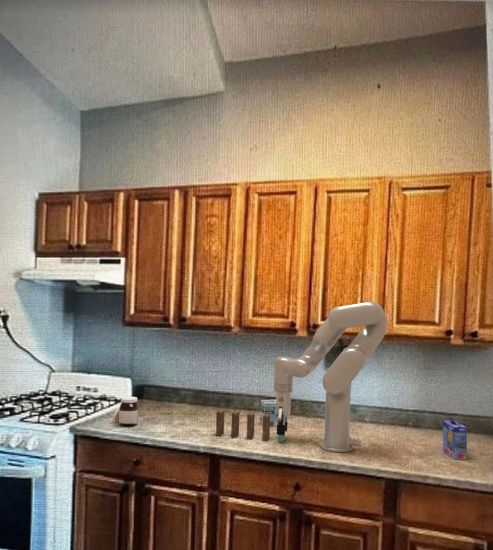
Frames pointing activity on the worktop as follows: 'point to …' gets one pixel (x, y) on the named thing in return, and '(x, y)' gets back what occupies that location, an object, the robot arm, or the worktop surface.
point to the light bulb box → (269, 411)
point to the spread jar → (127, 412)
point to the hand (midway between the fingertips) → (281, 432)
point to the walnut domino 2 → (235, 424)
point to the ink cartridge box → (455, 439)
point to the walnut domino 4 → (266, 427)
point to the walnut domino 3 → (250, 425)
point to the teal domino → (281, 437)
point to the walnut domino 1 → (220, 422)
